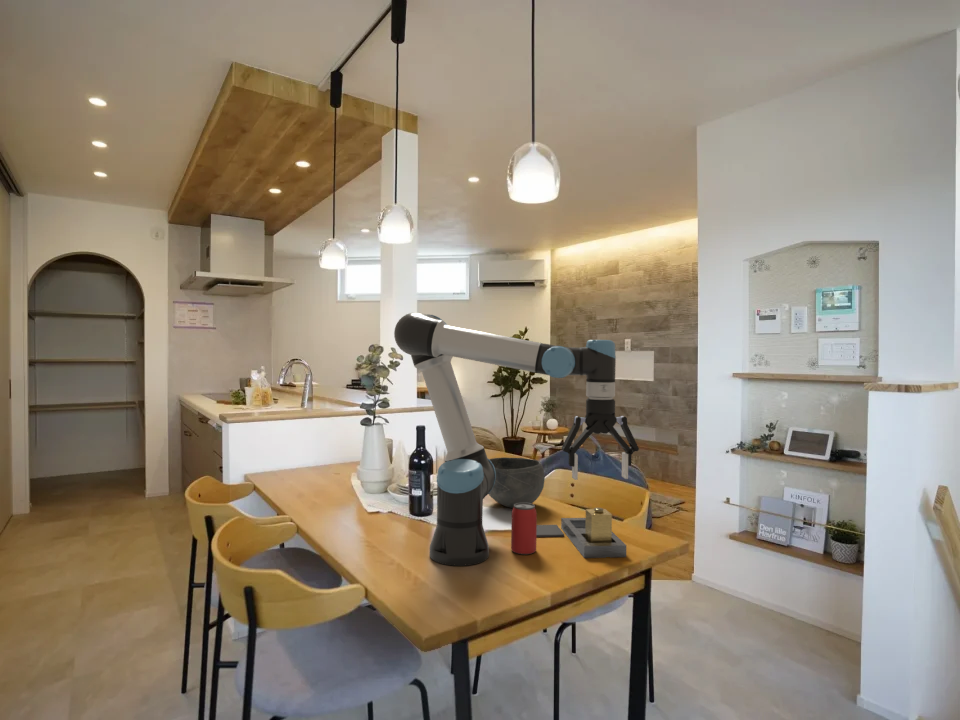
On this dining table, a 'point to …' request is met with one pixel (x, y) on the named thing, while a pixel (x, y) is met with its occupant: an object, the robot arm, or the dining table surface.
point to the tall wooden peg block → (598, 526)
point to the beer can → (523, 528)
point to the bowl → (517, 480)
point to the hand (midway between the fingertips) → (599, 478)
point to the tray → (591, 550)
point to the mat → (548, 531)
